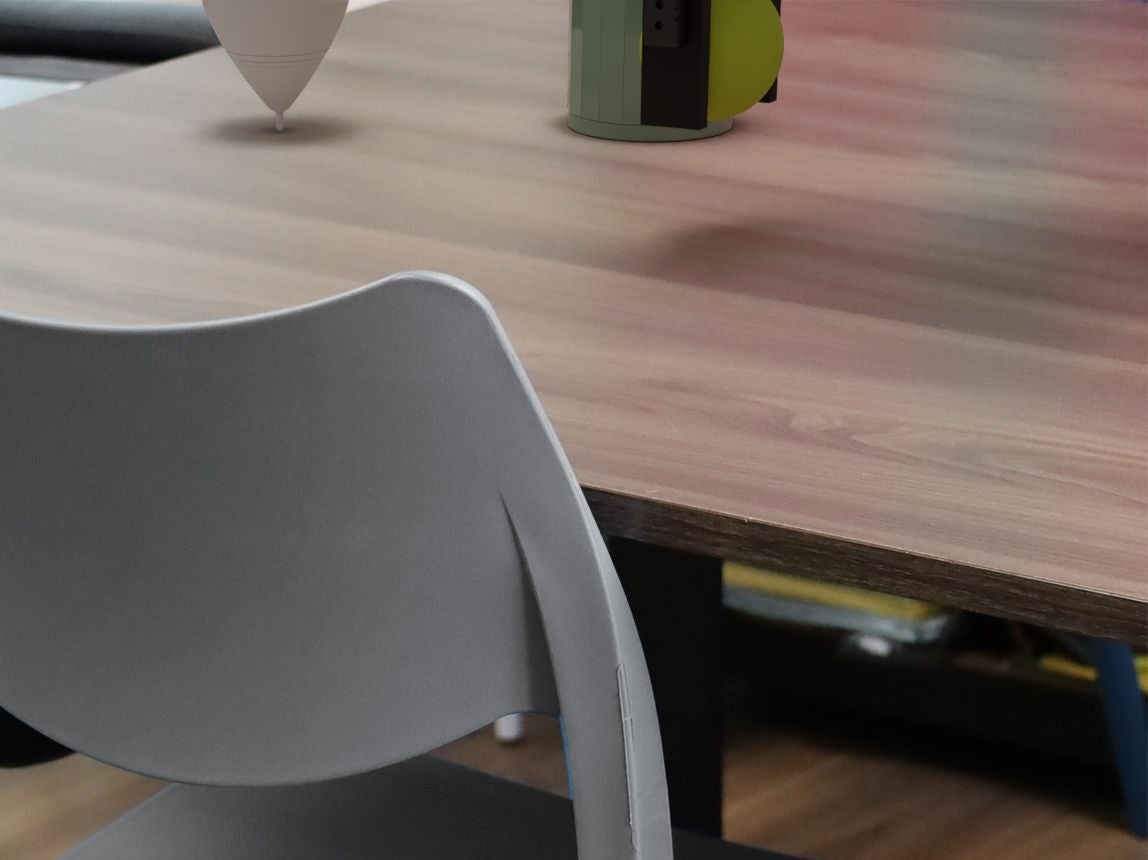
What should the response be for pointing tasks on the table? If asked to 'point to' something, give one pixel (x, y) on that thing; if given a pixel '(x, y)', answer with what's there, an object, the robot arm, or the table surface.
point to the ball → (741, 55)
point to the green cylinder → (613, 75)
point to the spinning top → (276, 43)
